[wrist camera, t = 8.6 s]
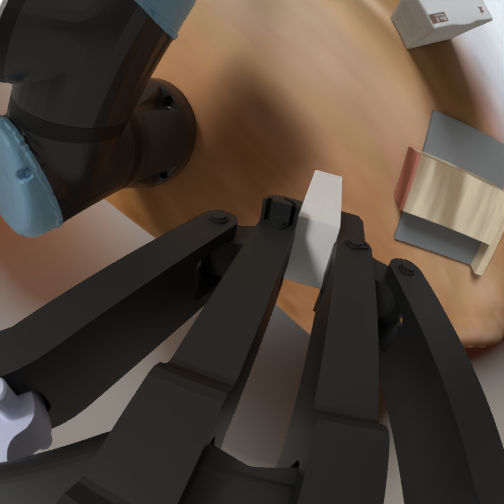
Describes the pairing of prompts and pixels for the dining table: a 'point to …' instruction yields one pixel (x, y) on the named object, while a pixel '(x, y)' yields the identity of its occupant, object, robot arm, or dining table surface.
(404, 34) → the skincare box
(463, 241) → the slate mat
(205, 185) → the dining table surface
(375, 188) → the dining table surface
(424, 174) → the beech block
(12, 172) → the robot arm
